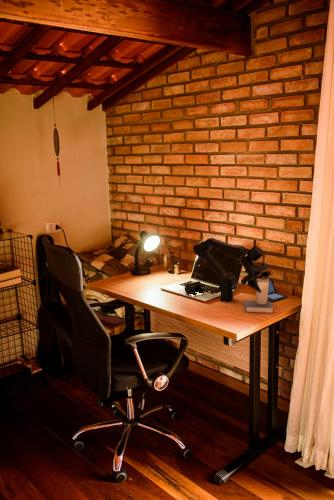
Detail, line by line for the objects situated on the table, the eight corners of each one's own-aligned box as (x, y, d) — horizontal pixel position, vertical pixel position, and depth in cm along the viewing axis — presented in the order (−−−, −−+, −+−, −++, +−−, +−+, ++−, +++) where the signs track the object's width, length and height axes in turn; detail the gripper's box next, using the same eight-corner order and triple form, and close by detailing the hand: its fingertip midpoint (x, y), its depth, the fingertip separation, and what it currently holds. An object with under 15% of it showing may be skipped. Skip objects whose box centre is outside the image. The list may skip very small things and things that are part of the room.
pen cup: (258, 304, 243) (260, 280, 240) (253, 301, 249) (255, 277, 246) (269, 304, 245) (271, 280, 242) (264, 300, 250) (266, 276, 248)
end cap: (196, 291, 280) (196, 280, 278) (205, 293, 274) (205, 282, 273) (184, 294, 273) (184, 283, 272) (192, 297, 268) (193, 286, 266)
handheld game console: (271, 303, 259) (272, 287, 257) (252, 297, 269) (253, 282, 267) (288, 298, 269) (290, 282, 267) (270, 292, 279) (271, 277, 277)
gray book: (245, 312, 245) (245, 306, 244) (243, 305, 255) (244, 300, 254) (272, 313, 243) (273, 307, 243) (270, 306, 253) (270, 301, 253)
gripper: (246, 260, 239) (261, 286, 233) (269, 255, 250) (285, 280, 244) (234, 272, 246) (248, 297, 241) (257, 266, 258) (272, 290, 252)
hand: (264, 291), depth 244 cm, fingers closed on pen cup, 6 cm apart
